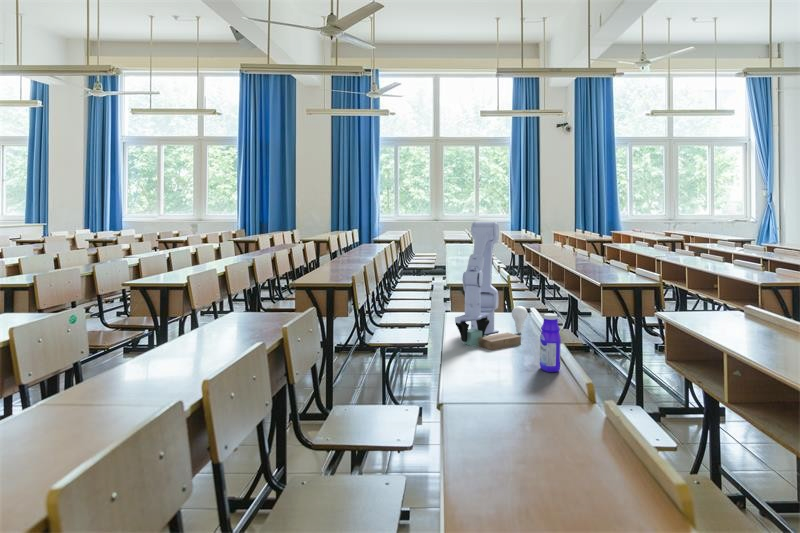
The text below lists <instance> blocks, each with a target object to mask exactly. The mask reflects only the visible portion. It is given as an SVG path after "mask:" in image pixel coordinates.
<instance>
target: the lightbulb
mask: <svg viewBox="0 0 800 533" xmlns="http://www.w3.org/2000/svg"><path fill="white" fill-rule="evenodd" d="M528 313H529V312H528V310H527V309H526V307H525V306H522V305H517V306H515V307H514V308H513V309H512V310H511V317H512V319H513V321H514V325H515V326H514V327H515V332H516V333H517V334H522V333H523V330H524V324H525V322H526V319H527V318H528Z"/></svg>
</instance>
